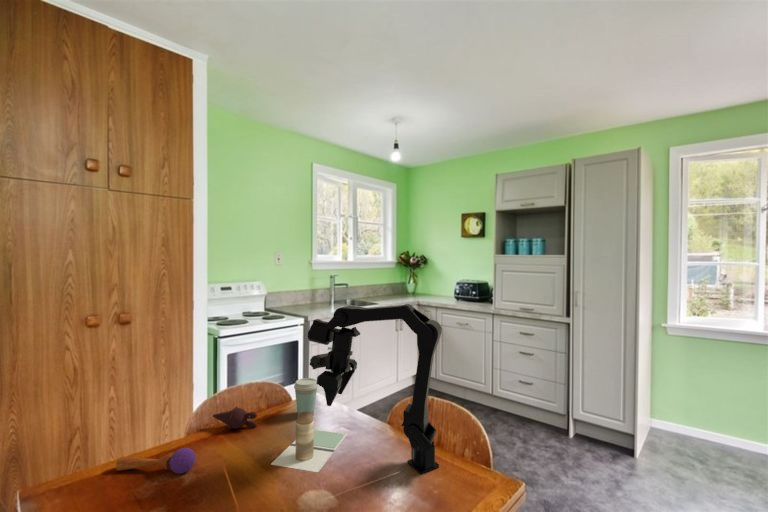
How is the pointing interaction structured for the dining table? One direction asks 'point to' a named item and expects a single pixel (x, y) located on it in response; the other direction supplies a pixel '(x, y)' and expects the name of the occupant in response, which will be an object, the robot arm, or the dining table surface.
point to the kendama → (161, 461)
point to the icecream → (237, 418)
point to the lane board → (322, 451)
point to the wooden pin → (304, 436)
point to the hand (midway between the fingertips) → (334, 399)
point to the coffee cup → (306, 395)
